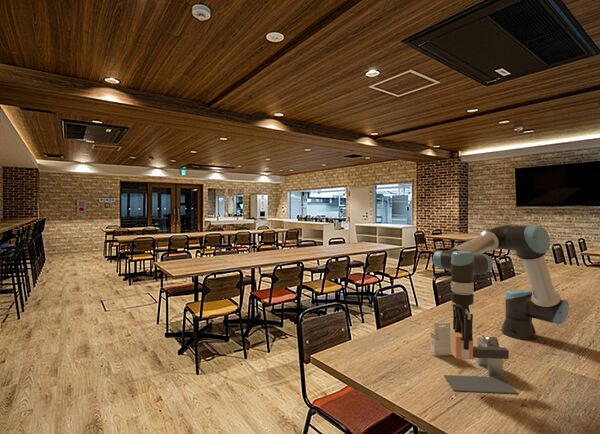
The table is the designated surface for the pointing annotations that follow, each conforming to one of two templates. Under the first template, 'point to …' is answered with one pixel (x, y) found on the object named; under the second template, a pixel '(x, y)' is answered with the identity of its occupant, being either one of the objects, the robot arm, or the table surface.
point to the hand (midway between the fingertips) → (462, 353)
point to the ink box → (441, 340)
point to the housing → (492, 364)
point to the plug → (476, 349)
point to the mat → (480, 384)
